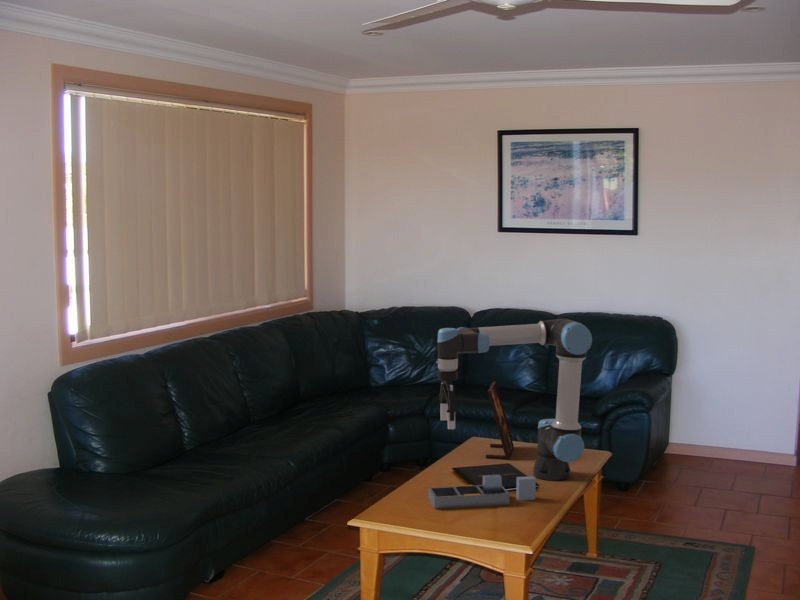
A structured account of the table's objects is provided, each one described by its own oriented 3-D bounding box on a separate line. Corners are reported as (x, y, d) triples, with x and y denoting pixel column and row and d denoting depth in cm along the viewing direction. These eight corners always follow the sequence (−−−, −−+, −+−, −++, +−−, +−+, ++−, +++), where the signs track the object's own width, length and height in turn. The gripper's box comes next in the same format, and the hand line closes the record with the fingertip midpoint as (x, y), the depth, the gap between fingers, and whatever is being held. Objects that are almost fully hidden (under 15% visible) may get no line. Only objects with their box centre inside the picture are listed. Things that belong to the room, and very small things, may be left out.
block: (532, 496, 341) (533, 476, 341) (535, 499, 338) (535, 478, 337) (516, 497, 340) (516, 477, 340) (518, 500, 337) (519, 479, 336)
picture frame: (510, 460, 389) (511, 391, 386) (485, 458, 391) (486, 390, 388) (513, 447, 410) (514, 382, 406) (490, 446, 412) (491, 381, 408)
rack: (500, 494, 344) (501, 471, 343) (509, 504, 332) (509, 480, 331) (428, 498, 339) (428, 474, 338) (434, 508, 328) (434, 484, 327)
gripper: (431, 363, 353) (431, 417, 355) (444, 376, 328) (444, 433, 331) (450, 363, 354) (450, 416, 356) (464, 375, 330) (464, 432, 332)
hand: (447, 424), depth 344 cm, fingers open, 13 cm apart
